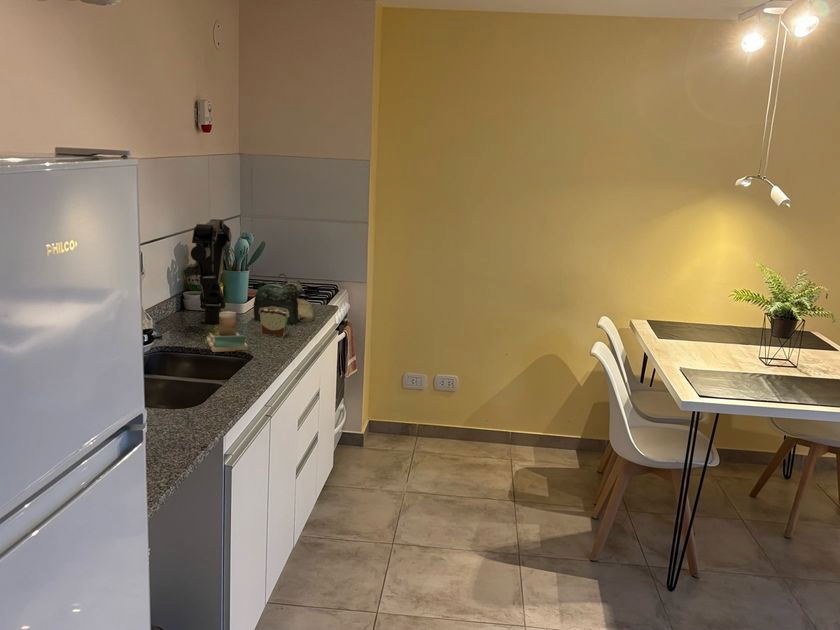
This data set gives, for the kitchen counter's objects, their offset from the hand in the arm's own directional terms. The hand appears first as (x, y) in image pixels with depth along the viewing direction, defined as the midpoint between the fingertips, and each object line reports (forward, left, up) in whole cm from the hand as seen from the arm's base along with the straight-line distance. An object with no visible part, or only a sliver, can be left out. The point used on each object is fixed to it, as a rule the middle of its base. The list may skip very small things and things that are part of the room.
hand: (205, 298), depth 292 cm
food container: (-9, +26, -12) cm, 30 cm away
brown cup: (+16, +22, -10) cm, 29 cm away
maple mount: (+14, +20, -12) cm, 28 cm away
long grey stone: (-46, +14, -13) cm, 50 cm away
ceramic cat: (-26, +15, -12) cm, 32 cm away
